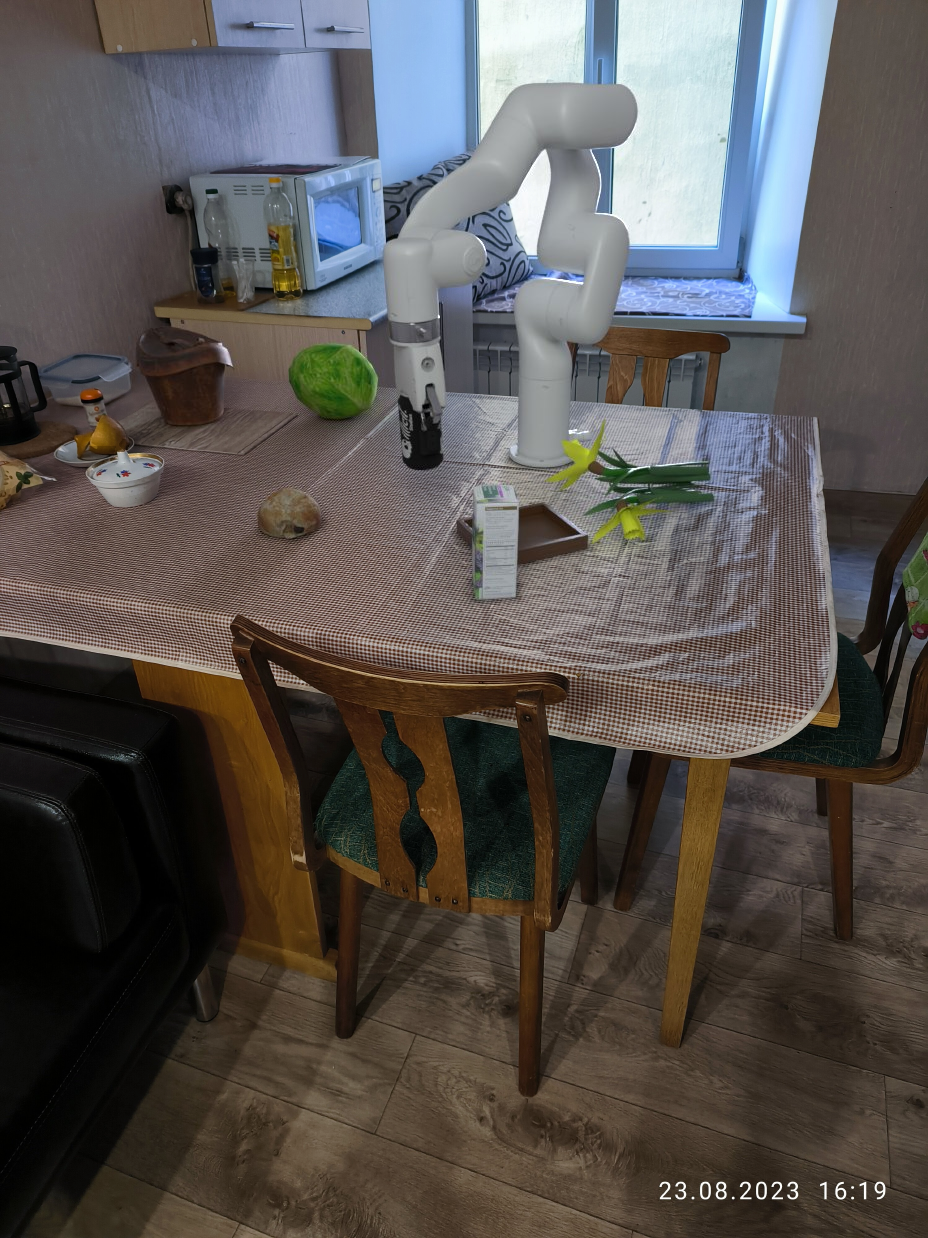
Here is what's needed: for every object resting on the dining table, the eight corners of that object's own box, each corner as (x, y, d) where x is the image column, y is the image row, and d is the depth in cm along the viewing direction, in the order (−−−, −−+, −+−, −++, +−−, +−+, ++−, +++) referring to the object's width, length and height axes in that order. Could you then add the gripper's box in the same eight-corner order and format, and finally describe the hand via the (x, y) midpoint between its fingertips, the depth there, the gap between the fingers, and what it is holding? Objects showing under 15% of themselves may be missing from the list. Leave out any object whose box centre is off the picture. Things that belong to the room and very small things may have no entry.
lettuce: (401, 405, 189) (367, 339, 190) (373, 385, 169) (334, 312, 170) (337, 444, 193) (303, 380, 194) (302, 429, 173) (264, 357, 174)
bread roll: (268, 560, 136) (268, 527, 129) (248, 514, 140) (247, 479, 134) (327, 546, 139) (330, 513, 133) (306, 501, 144) (308, 467, 138)
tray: (544, 514, 140) (544, 501, 139) (587, 548, 130) (588, 534, 128) (456, 533, 135) (456, 519, 134) (494, 570, 124) (494, 556, 123)
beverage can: (438, 472, 134) (434, 397, 128) (398, 470, 135) (391, 396, 129) (447, 456, 140) (444, 383, 133) (408, 454, 141) (403, 382, 134)
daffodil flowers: (752, 520, 139) (625, 532, 115) (676, 542, 149) (544, 557, 125) (729, 419, 139) (598, 410, 115) (655, 448, 150) (520, 445, 126)
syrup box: (471, 580, 122) (470, 485, 114) (512, 578, 122) (514, 482, 115) (475, 600, 117) (474, 502, 109) (518, 598, 117) (520, 500, 110)
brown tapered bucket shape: (230, 430, 178) (216, 342, 169) (135, 431, 178) (115, 343, 169) (250, 403, 193) (237, 321, 184) (162, 404, 194) (145, 322, 184)
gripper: (461, 339, 121) (466, 459, 130) (416, 313, 134) (424, 424, 144) (411, 347, 118) (420, 469, 128) (371, 320, 132) (381, 432, 141)
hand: (422, 444), depth 136 cm, fingers closed on beverage can, 6 cm apart
